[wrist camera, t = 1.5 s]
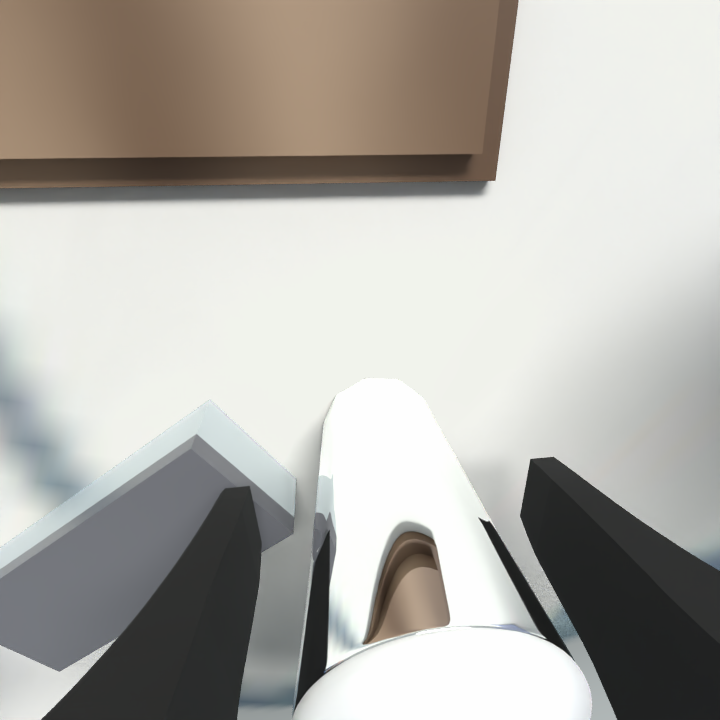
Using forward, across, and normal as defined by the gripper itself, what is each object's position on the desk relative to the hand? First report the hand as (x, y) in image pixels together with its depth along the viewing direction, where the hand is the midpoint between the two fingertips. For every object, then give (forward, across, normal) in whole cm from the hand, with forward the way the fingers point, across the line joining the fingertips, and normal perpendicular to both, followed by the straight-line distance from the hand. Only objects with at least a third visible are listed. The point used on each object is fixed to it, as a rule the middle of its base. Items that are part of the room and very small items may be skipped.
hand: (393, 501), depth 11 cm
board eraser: (+3, +8, +3) cm, 9 cm away
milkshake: (+3, 0, 0) cm, 3 cm away
